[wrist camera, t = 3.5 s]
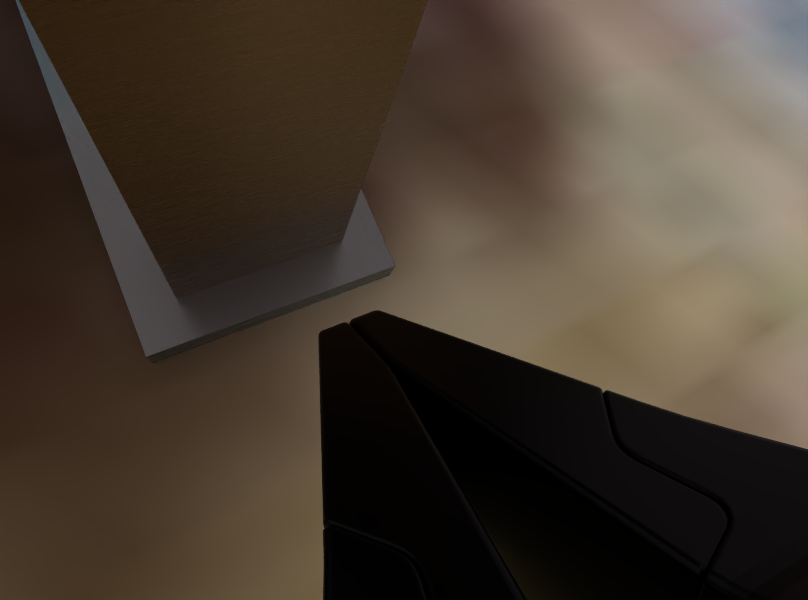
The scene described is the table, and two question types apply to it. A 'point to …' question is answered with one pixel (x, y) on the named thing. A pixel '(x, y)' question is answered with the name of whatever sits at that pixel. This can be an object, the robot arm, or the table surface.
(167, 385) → the table surface
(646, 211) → the table surface
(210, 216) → the sweeper
